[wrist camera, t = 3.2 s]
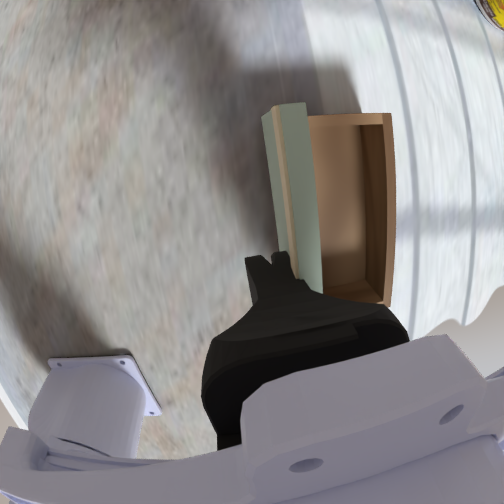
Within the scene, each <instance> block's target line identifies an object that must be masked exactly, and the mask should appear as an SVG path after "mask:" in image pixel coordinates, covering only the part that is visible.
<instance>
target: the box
mask: <svg viewBox="0 0 504 504" xmlns="http://www.w3.org/2000/svg"><path fill="white" fill-rule="evenodd" d="M308 123H309V131H310V139H311V147H312V155H313V164H314V174H315V184H316V194H317V206H318V218H319V231H320V247H321V264H322V286H323V294H325V295H328V296H332V297H336V298H340V299H345V300H350V301H356V302H366V303H378V304H385V306H386V307H390V305H391V296H392V285H393V273H394V259H395V238H396V173H395V152H394V138H393V127H392V116H391V113H355V114H332V115H317V116H308Z"/></svg>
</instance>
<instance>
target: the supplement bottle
mask: <svg viewBox="0 0 504 504" xmlns="http://www.w3.org/2000/svg"><path fill="white" fill-rule="evenodd" d="M476 3H477V5H478V7H479V9H480V10H481V12H482V13H483V15H484V16H485V18H486V19H487V20H488V21H489V22H490V23H491V24H492V25H493V26H494V27H495V28H497V29H499V30H501V31H504V0H476Z"/></svg>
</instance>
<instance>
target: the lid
mask: <svg viewBox="0 0 504 504" xmlns="http://www.w3.org/2000/svg"><path fill="white" fill-rule="evenodd" d="M261 120H262V127H263V133H264V140H265V147H266V154H267V161H268V168H269V175H270V182H271V189H272V197H273V204H274V212H275V219H276V227H277V235H278V243H279V251H287V252H288V254H289V256H290V261H291V268H292V270H293V273H294V275H295V278H296V279H300V280H302V279H304V280H305V282H306V283H307V284H308V286H309V287H310V289H311V290H314V291H316V292H319V293H322V294H323V286H322V264H321V247H320V231H319V218H318V206H317V194H316V184H315V174H314V164H313V155H312V147H311V139H310V131H309V123H308V116H307V109H306V102H301V103H290V104H280V105H275V106H273V107H272V108H271V110H270V111H269V112H267V113H266V114H264V115H263V116H261Z"/></svg>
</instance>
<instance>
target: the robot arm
mask: <svg viewBox="0 0 504 504" xmlns="http://www.w3.org/2000/svg"><path fill="white" fill-rule="evenodd" d="M271 259H272V265H271V264H270V263H269V262H268V261H267V260H266V259H265V258H264V257H263V256H261V255H257V256H252V257H246V258H245V265H246V271H247V276H248V281H249V287H250V292H251V298H252V303H253V306H252V307H251V309H250V310H249V311H248V312H247V313H246V314H245V315H244V316H243V317H242V318H241V319H240V320H239V321H238V322H237V323H235V324H234V325H233V326H232V327H230V328H229V329H227V330H226V331H224V332H223V333H221V334H220V335H218V336H216V337H215V338H213V339H212V341H211V344H210V347H209V350H208V353H207V357H206V361H205V365H204V369H203V375H202V390H201V398H202V403H203V407H204V409H205V411H206V413H207V415H208V417H209V419H210V421H211V423H212V425H213V428H214V430H215V432H216V434H217V451H215V452H211V453H207V454H202V455H198V456H194V457H189V458H184V459H179V460H156V459H136V456H137V450H138V444H139V438H140V433H141V427H142V422H143V417H144V416H159V415H161V414H162V410H161V408H160V406H159V404H158V403H157V401H156V399H155V398H154V396H153V394H152V392H151V390H150V389H149V387H148V385H147V383H146V381H145V380H144V378H143V376H142V374H141V372H140V370H139V368H138V366H137V364H136V362H135V360H134V359H133V357H131V356H129V355H121V356H105V357H85V358H50V359H49V360H48V365H49V366H50V368H51V371H50V373H49V375H48V376H47V378H46V380H45V382H44V384H43V386H42V388H41V390H40V392H39V394H38V396H37V398H36V400H35V402H34V404H33V406H32V408H31V410H30V413H29V419H28V429H29V431H28V430H23V429H19V428H15V427H8V429H7V431H6V434H5V436H4V438H3V440H2V443H1V445H0V493H1V494H3V495H4V496H5V497H7V498H8V499H10V502H9V504H504V367H502V368H501V369H499V370H497V371H496V372H494V373H493V374H491V375H489V376H487V377H486V378H484V377H483V376H482V374H481V373H480V372H479V370H478V369H477V368H476V367H475V365H474V364H473V363H472V362H471V361H470V360H469V358H468V357H467V356H466V354H465V353H464V352H463V351H462V350H461V348H460V347H459V346H458V345H457V344H456V343H455V342H454V341H453V340H452V339H451V338H450V337H449V336H448V335H447V334H444V335H436V336H427V337H422V338H419V339H416V340H413V341H410V340H409V337H408V333H407V331H406V330H405V328H404V327H403V326H402V324H401V323H400V322H399V320H398V319H397V318H396V316H395V315H394V314H393V313H392V312H391V311H390V310H389V309H388V308H387V307H386V306H385V304H378V303H366V302H356V301H350V300H345V299H340V298H336V297H332V296H328V295H325V294H322V293H319V292H316V291H314V290H311V289H310V287H309V286H308V284H307V283H306V282H305V280H304V279H302V280H300V279H296V278H295V275H294V273H293V270H292V268H291V261H290V256H289V254H288V252H287V251H280V252H275V253H273V254H272V255H271ZM409 341H410V342H409ZM121 360H123V361H124V362H123V361H121Z"/></svg>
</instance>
